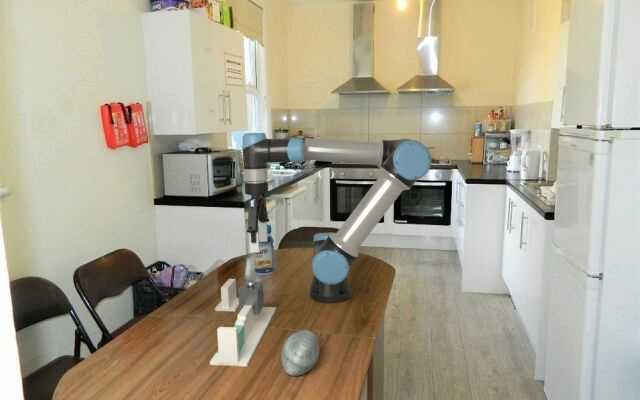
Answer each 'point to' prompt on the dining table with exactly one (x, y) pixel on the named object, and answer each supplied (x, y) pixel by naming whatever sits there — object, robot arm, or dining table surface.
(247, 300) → the grey cube with knob
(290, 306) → the dining table surface
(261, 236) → the robot arm
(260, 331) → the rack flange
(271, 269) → the beverage bottle
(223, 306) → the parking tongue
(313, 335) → the grey streaked ovoid
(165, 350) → the dining table surface
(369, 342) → the dining table surface
